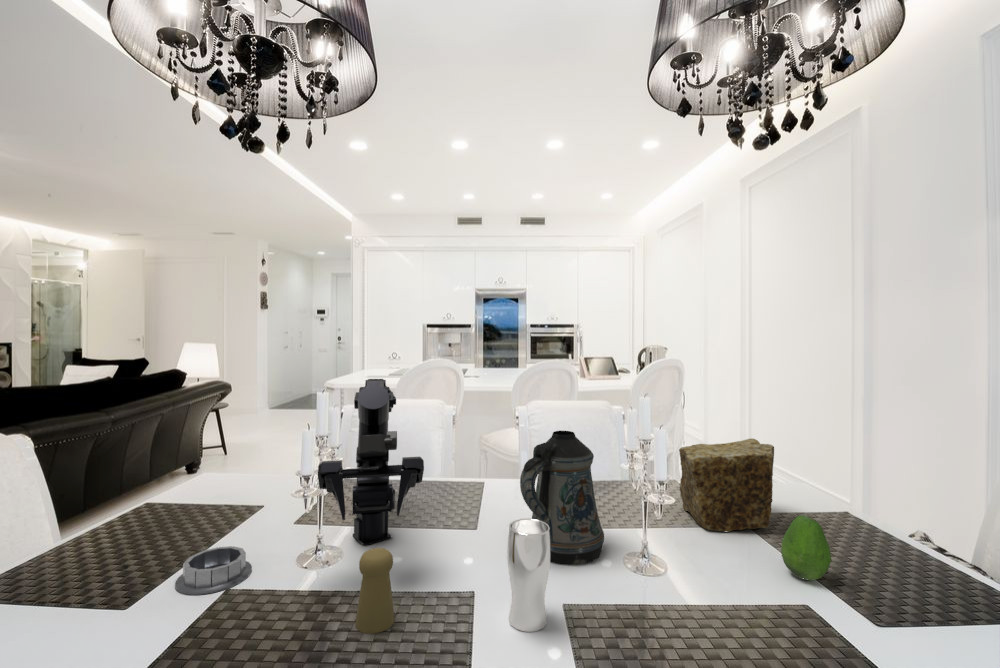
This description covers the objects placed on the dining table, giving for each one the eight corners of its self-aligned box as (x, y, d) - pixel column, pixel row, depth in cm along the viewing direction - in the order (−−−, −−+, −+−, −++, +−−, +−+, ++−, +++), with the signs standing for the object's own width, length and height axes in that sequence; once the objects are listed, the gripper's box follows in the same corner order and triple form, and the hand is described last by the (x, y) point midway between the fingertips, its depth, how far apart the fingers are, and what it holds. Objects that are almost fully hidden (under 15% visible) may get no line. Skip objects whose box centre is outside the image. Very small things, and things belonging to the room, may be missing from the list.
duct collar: (243, 555, 94) (244, 538, 94) (258, 579, 85) (259, 560, 85) (171, 574, 86) (172, 555, 86) (179, 603, 77) (180, 582, 77)
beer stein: (611, 540, 104) (612, 429, 104) (590, 580, 86) (592, 447, 86) (541, 526, 111) (543, 422, 111) (509, 561, 93) (511, 437, 93)
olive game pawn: (384, 636, 69) (385, 562, 69) (347, 630, 70) (349, 558, 70) (400, 613, 75) (402, 545, 75) (366, 608, 76) (368, 541, 76)
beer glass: (504, 608, 77) (505, 518, 77) (545, 607, 77) (546, 517, 78) (508, 635, 70) (510, 535, 70) (553, 633, 70) (555, 535, 71)
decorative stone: (688, 447, 109) (672, 431, 129) (689, 533, 109) (672, 504, 129) (786, 450, 106) (754, 434, 125) (788, 539, 105) (755, 509, 125)
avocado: (818, 593, 83) (818, 526, 83) (773, 574, 90) (773, 512, 90) (838, 581, 87) (838, 518, 88) (794, 564, 94) (794, 505, 94)
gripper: (320, 417, 83) (309, 499, 73) (424, 414, 88) (429, 491, 77) (324, 450, 91) (315, 529, 80) (419, 446, 96) (423, 520, 85)
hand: (371, 516), depth 80 cm, fingers open, 9 cm apart
